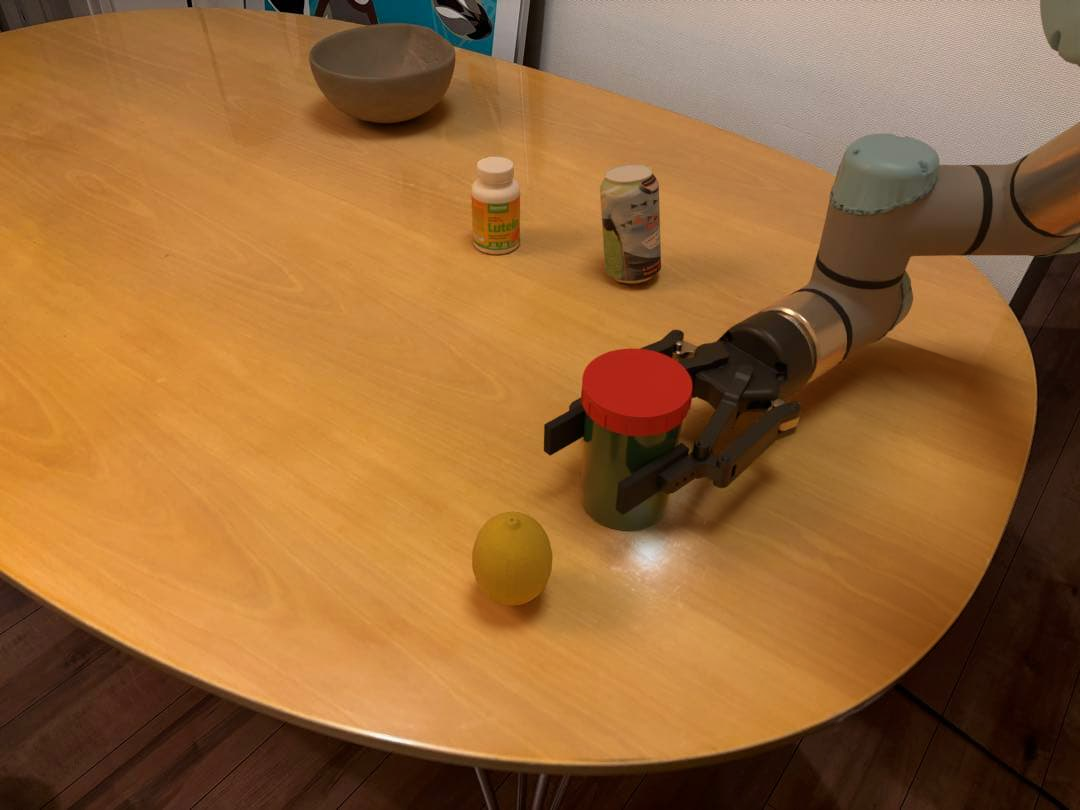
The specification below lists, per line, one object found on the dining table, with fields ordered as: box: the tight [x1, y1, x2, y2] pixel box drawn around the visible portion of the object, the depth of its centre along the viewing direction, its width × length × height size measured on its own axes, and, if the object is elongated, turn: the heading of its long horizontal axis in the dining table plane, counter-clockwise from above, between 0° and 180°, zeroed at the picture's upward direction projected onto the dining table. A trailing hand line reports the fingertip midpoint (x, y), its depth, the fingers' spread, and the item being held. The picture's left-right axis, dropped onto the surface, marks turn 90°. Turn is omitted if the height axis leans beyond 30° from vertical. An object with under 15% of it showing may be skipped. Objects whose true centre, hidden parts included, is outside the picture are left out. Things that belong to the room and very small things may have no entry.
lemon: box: [471, 511, 553, 606], centre depth 61 cm, size 6×6×8 cm
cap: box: [580, 347, 693, 436], centre depth 64 cm, size 8×8×2 cm
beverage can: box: [599, 163, 662, 284], centre depth 93 cm, size 6×7×12 cm
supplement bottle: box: [470, 156, 521, 255], centre depth 98 cm, size 5×5×10 cm
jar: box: [579, 411, 683, 532], centre depth 67 cm, size 7×7×12 cm
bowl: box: [308, 22, 457, 124], centre depth 126 cm, size 20×20×10 cm
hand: (582, 468), depth 65 cm, fingers closed on jar, 7 cm apart
